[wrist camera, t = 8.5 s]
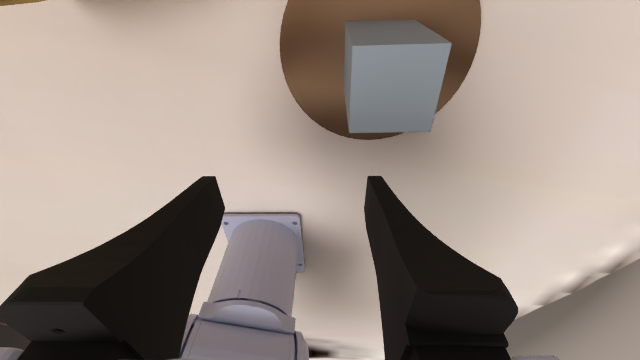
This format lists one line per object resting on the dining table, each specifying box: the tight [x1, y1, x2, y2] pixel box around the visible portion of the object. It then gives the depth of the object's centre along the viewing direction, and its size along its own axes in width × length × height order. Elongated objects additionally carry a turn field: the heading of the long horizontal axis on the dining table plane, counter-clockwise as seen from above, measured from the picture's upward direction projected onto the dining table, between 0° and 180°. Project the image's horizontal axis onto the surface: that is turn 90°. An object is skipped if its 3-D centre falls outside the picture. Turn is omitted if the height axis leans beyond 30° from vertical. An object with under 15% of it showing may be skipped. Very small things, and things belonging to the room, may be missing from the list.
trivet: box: [280, 0, 481, 140], centre depth 18 cm, size 12×12×2 cm
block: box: [344, 20, 452, 133], centre depth 15 cm, size 4×4×6 cm
